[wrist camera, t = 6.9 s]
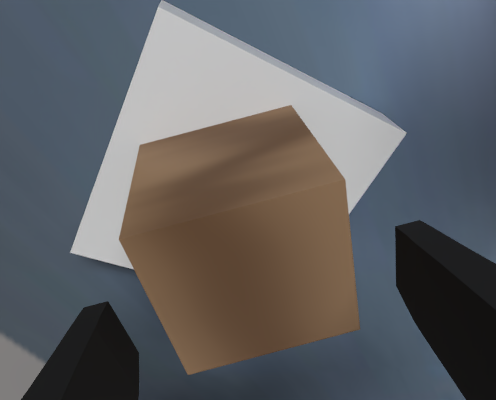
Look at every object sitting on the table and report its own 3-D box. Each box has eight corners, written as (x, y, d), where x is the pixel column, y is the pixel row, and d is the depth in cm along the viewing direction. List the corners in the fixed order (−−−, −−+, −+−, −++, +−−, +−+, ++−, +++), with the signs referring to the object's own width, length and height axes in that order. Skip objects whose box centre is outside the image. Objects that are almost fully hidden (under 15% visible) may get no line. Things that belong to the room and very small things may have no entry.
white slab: (382, 113, 16) (406, 133, 14) (272, 277, 19) (281, 308, 18) (161, -1, 12) (158, 6, 11) (81, 221, 16) (70, 252, 14)
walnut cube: (291, 104, 13) (345, 179, 8) (311, 226, 15) (360, 329, 11) (139, 145, 13) (118, 238, 8) (186, 259, 15) (188, 375, 11)
